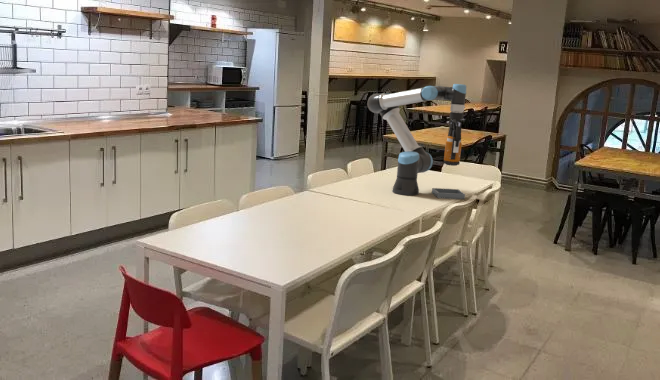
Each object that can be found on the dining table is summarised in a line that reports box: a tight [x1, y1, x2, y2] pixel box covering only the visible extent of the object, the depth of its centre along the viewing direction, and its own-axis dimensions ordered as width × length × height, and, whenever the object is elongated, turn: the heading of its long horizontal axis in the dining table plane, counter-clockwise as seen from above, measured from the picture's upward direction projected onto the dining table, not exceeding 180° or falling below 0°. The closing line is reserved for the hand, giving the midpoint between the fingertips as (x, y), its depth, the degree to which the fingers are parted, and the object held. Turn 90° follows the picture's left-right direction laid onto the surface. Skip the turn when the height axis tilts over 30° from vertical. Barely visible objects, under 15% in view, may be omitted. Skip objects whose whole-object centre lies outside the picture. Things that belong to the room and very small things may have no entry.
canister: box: [443, 130, 463, 167], centre depth 350 cm, size 9×11×20 cm
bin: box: [431, 187, 466, 200], centre depth 355 cm, size 16×14×3 cm
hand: (452, 151), depth 350 cm, fingers closed on canister, 10 cm apart
